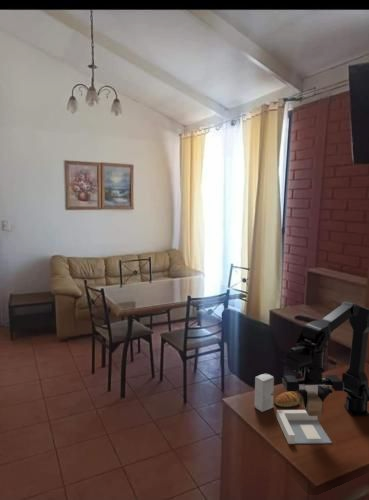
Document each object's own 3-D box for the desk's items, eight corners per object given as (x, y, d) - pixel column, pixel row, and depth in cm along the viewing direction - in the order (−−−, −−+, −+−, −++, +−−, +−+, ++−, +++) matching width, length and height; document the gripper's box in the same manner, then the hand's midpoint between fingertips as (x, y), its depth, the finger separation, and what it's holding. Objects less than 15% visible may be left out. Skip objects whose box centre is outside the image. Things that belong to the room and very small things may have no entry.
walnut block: (321, 415, 115) (322, 401, 114) (309, 416, 115) (309, 401, 114) (313, 403, 122) (313, 390, 121) (301, 404, 122) (302, 390, 121)
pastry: (280, 410, 133) (281, 400, 132) (270, 401, 139) (270, 392, 139) (300, 405, 136) (301, 395, 136) (289, 396, 143) (289, 387, 142)
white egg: (313, 405, 136) (314, 387, 135) (295, 398, 141) (295, 381, 140) (323, 394, 143) (324, 377, 142) (305, 388, 148) (306, 372, 147)
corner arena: (315, 417, 128) (315, 409, 128) (331, 443, 114) (332, 434, 114) (276, 417, 128) (276, 410, 127) (288, 443, 114) (288, 435, 114)
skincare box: (262, 412, 131) (263, 381, 130) (253, 406, 135) (254, 376, 133) (273, 407, 135) (274, 377, 133) (265, 401, 138) (266, 372, 137)
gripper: (331, 352, 125) (329, 393, 127) (278, 352, 124) (277, 394, 126) (346, 366, 113) (343, 412, 115) (288, 367, 113) (286, 412, 115)
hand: (311, 407), depth 118 cm, fingers closed on walnut block, 4 cm apart
